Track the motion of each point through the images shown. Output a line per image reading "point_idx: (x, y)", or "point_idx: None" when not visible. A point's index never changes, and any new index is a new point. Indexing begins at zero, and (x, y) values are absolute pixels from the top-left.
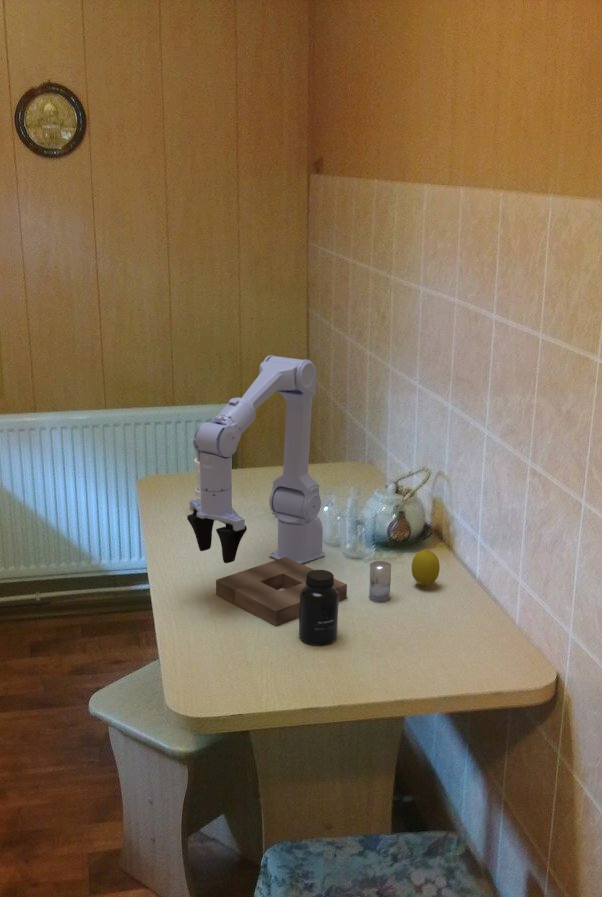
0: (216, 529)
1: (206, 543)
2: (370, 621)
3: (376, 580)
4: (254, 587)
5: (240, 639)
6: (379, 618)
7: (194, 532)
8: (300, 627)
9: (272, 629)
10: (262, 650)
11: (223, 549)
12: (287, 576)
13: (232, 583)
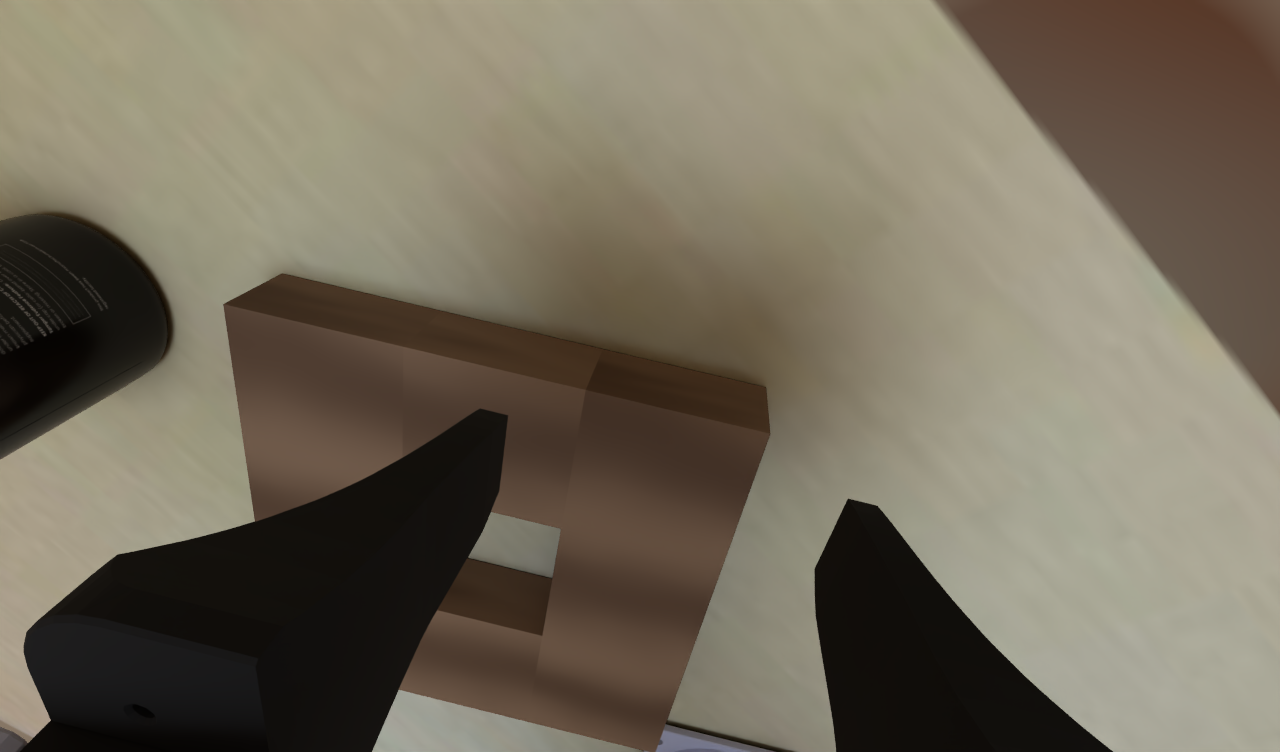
0: (251, 653)
1: (837, 588)
2: (114, 509)
3: None
4: (526, 464)
5: (269, 29)
6: (119, 541)
7: (993, 645)
8: (32, 243)
9: (267, 238)
10: (95, 3)
11: (408, 472)
12: (510, 624)
13: (657, 445)
